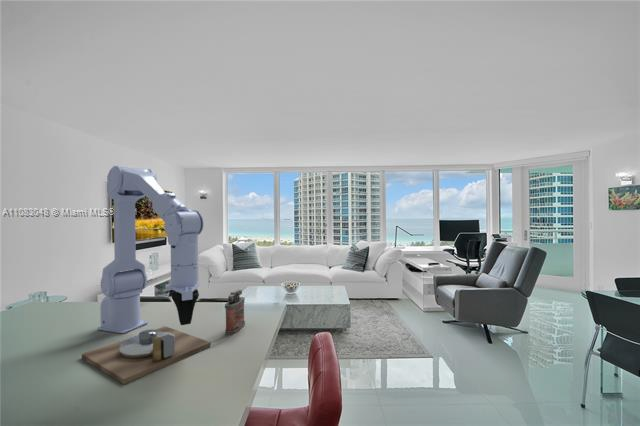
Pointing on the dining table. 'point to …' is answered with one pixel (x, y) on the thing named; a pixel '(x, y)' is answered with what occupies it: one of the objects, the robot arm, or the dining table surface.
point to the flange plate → (148, 344)
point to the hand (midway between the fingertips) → (185, 323)
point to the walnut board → (138, 367)
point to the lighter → (234, 313)
